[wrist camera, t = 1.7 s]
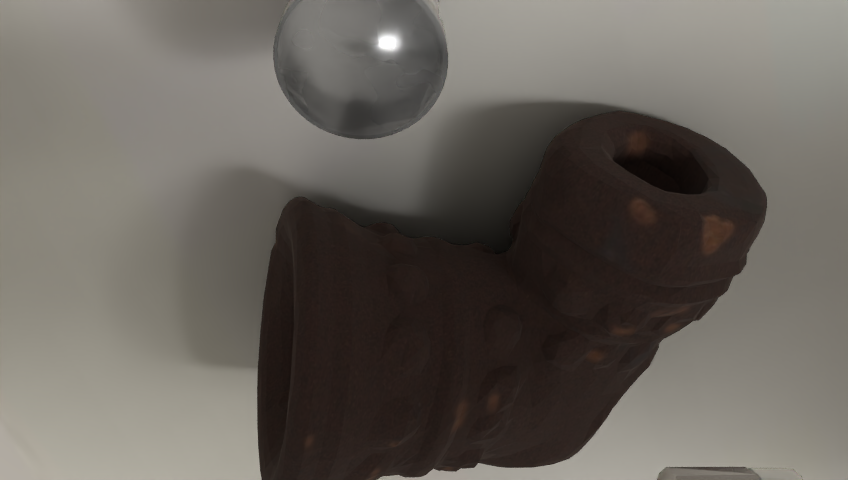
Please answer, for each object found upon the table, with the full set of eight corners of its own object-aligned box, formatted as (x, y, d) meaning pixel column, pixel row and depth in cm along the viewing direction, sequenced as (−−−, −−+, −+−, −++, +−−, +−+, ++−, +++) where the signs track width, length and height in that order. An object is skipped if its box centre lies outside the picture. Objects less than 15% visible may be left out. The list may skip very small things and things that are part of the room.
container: (442, -98, 24) (454, -21, 19) (433, 37, 27) (441, 142, 21) (300, -105, 24) (268, -30, 18) (304, 31, 26) (277, 135, 21)
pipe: (852, 270, 23) (334, 234, 19) (640, 544, 32) (258, 563, 28) (705, 91, 30) (304, 35, 26) (565, 357, 40) (251, 349, 35)
